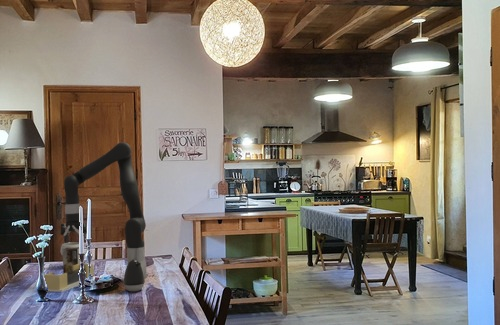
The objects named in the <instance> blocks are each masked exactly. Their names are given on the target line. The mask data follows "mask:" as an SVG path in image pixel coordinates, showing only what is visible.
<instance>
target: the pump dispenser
mask: <svg viewBox="0 0 500 325" xmlns="http://www.w3.org/2000/svg"><path fill="white" fill-rule="evenodd" d="M140 264H141V263H140V262H138V261H137V260H131V261H130V262H129V263H128V265H126V268H125V271H124V275H123V285H124V288H125V290H127V291H128V292H132V293H134V292H139V291H140V290H142V289H143V288H144V285H145V282H146V281H145V280H146V278H144V273H143V270H142V267H141V265H140Z"/></svg>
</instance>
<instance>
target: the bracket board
mask: <svg viewBox="0 0 500 325" xmlns="http://www.w3.org/2000/svg"><path fill="white" fill-rule="evenodd" d="M83 264H84V269H85V272H86V278H88V276H89V266H88V264H89V263H83ZM90 264H91V268H90V273H91V275H92V276H94V264H93V263H90ZM76 269H80V264H76V265H73V270H76ZM44 278H45V281H46V284H47V287H48V291H47V292H51V293H54V292H55V293H57V292H59V293H62V292H65V291H68V290H70V289H73V288H75V287H78V286H80V285H79V283H80V281H78V282H75V283H72V284H70V285H67V273H62V274H55V272H54V271H53V272H49V273H46V274H44V275H43V279H44Z"/></svg>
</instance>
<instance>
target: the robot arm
mask: <svg viewBox="0 0 500 325" xmlns="http://www.w3.org/2000/svg"><path fill="white" fill-rule="evenodd" d="M116 162H117V166H118V170H119V171H118V172H119V188H120V191H121V192H120V193H121V196H122V198H123V202H124V203H125V205H126V206H127V209H128V213H129V219H128V220H127V221H126V223H125V226H124V233H125V243H126V254H127V255H126V257H127V258H126V260H127V261H126V262H127V265H128V263H129V262H130V261H131V260H137V261H138V262H140V263H141V264H140V265H141V267H142V270H143V273H144V279H147V260H146V259H145V241H144V240H143V238H142V237H143V236H142V233H143V232H145V231H146V230H145V229H146V226H147V225H146V220H145V216H144V213H143V209H142V204H141V199H140V198H141V197H140V193H139V192H140V191H139V185H138V181H137V177H136V173H135V171H134V167H133V159H132V147H131V145H130V144H128V143H127V142H125V141H124V142H121V141H120V142H118V143H117V144H115V146H113V147H112V148H111V149H110V150H109V151H107V152H106V153H104V154H103V155H102V156H100V157H99V158H97V159H95V160H93V161H91V162H89V163H87V164H86V165H85V166H83V167H81V168H80V169H79V170H77V171H76V172H74V173H72V174H70V175H67V176H65V178H64V181H63V185H64V186H63V187H64V193H65V196H64V197H65V198H64V199H65V208H64V210H65V211H64V212H65V213H64V214H65V215H64V216H65V223H61V224H60V235H62V236H63V238H64V243H70V238H69V235H70V233H71V232H74V233H75V232H76V233H77V234H78V235H79V226H80V223H81V221H80V222H79V207H80V208H81V205H80V195H79V186H80V185H81V184H83V183H85V182H86V181H88V180H89V179H91V178H93V177H94V176H97V175H98V174H100V173H101V172H103V170H105V169H106V168H107V167H109V166H110V165H112V164H114V163H116ZM82 223H83V233H84V235H86V234H87V223H86V222H82ZM80 227H81V226H80ZM127 265H126V266H127Z"/></svg>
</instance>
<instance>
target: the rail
mask: <svg viewBox="0 0 500 325" xmlns="http://www.w3.org/2000/svg"><path fill="white" fill-rule="evenodd" d="M79 270H80V269H76V270H73V271H70V272H67V285H70V284H72V283H75V282H78V281H79V275H78V273H79ZM84 270H85V269H84Z"/></svg>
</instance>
